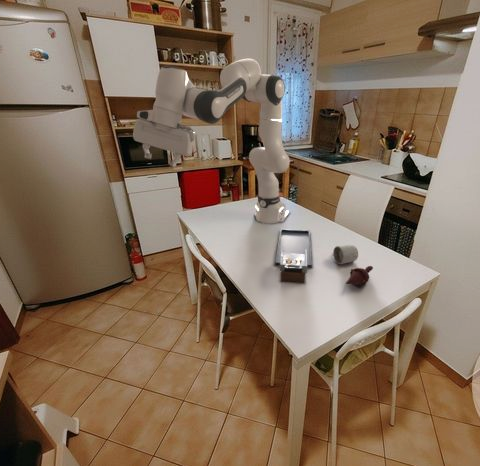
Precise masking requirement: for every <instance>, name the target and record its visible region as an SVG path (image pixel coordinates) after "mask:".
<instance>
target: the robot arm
mask: <svg viewBox="0 0 480 466" xmlns="http://www.w3.org/2000/svg"><path fill="white" fill-rule="evenodd" d="M219 82H220V86H221V89H219V90H212V89H211V90H210V89H204V88H202V89H201V88H197V87H196V86H195V84H193V83H192V81H191V80H190V78H189V76H188V73H187V70H185V69H183V68H181V67H178V66H172V65H162V67H160V69H159V71H158V75H157V79H156V84H155V92H154V93H155V101H154V102H153V106H152V109H145V110H138V111H137V112H136V118H137V119H136V121H135V122H134V126H133V133H132V139H133V141H135V142H138V143H141V144H142V149H143V152H144V158H145V159H147V160H152V156H153V154H152V153H151V152H150V148H151V147H154V148H158V149H160V150H165V151H167V152H171V153H173V156H174V158H173V159H172V160H169V167H173V168H176V167H177V162H178V161H179V160H180V159H181V158H182V156H184V157H191V155H192V154H193V150H194V149H193V148H194V139H195V136H196V135H195V131H194V129H193V128H192V127H191V126H187V125H184V124H182V118H183V116H184V117H186V118H187V117H188V118H191V119H195V120H198V121H201V122H204V123H206V124H210V125H213V124H214V125H215V124H217V123H218V122H219V121H220V120H221V119H222V118H223V117H224V115H225V113H226V112H227V111H228V110H229V109H230V108H232V107H233V106H234V105H235V104H236V103H238V102H239V101H241V100H243V101H246V102H249V103H255V104H256V103H257V104H260V109H259V110H260V111H259V122H258V123H259V125H258V126H259V127H258V136H259V138H260V140H261V141H262V143H263V146H264V147H263V146H257V147H253V148H252V149H251V150H250V152H249V154H248V159H249V163H250V164H251V166H252V167H253V169H254V172H255V175H256V179H257V187H258V188H257V190H258V194H257V202H256V204H255V206H254V207H255V209H256V210H255V213H254V217H255V219H256V221H257V222H260V223H263V224H276V223H283V222H284V221H285V220H286V218H287V217H288V216H289V214H290V210H288V209H287V207H286V203H284V202H283V200H281V198H282V197H283V193H280V192H279V190H280V187H279V186H280V185H279V183H280V182H279V180H278V178H277V177H276V174H282V173H285V172H287V170H288V169H289V167H290V163H291V159H290V157H289V155H288V154H287V152H286V150H285V147H284V144H283V140H282V128H283V127H282V126H283V101H282V100H283V98H284V96H285V93H286V84H285V81H284V80H283V78H282V77H281V76H280V75H276V74H266V73H265V74H264V73H263V74H262V69H261V66H260V64H259V62H258V61H257V60H255V59H253V58H243V59H239V60H236V61H234V62H231V63H229V64H228V65H226V66H225V67H224V68H223V69H221V71H220V75H219Z"/></svg>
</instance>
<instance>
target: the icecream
mask: <svg viewBox="0 0 480 466" xmlns="http://www.w3.org/2000/svg"><path fill="white" fill-rule="evenodd" d="M373 269H374V267H373V266H372V265H368V266H367V267H365V268H361V267H355V268H351V269H350V271H349V277H348V279H347V281H346V285H356V286H357V287H365V286H366V284H367V283H368V282H369V280H370V275H369V273H370V272H371V271H373Z"/></svg>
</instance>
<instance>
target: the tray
mask: <svg viewBox="0 0 480 466" xmlns="http://www.w3.org/2000/svg"><path fill="white" fill-rule="evenodd" d="M311 242H312V241H311V231H310V229H309V230H307V229H289V228H288V229H287V228H280V229H279V235H278V242H277V248H276V255H275V259H274V260H275V261H274V266H276V267H280V261H281V253H282V248H284V251H283V253H292V254H305V249H307V269H312V267H313V261H312V260H313V259H312V247H311V246H312V245H311V244H312V243H311Z"/></svg>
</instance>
